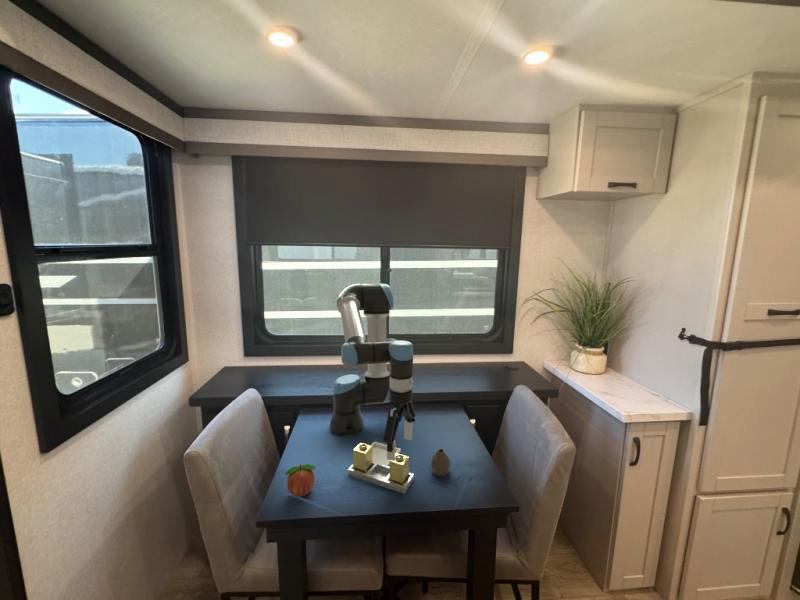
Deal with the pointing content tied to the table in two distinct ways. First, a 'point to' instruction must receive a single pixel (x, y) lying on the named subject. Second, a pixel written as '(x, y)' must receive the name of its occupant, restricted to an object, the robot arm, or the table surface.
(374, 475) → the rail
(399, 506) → the table surface
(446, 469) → the vase
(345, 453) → the table surface
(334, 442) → the table surface
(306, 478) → the fruit
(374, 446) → the tray
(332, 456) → the table surface
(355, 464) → the brass block with knob
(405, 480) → the knobbed block
